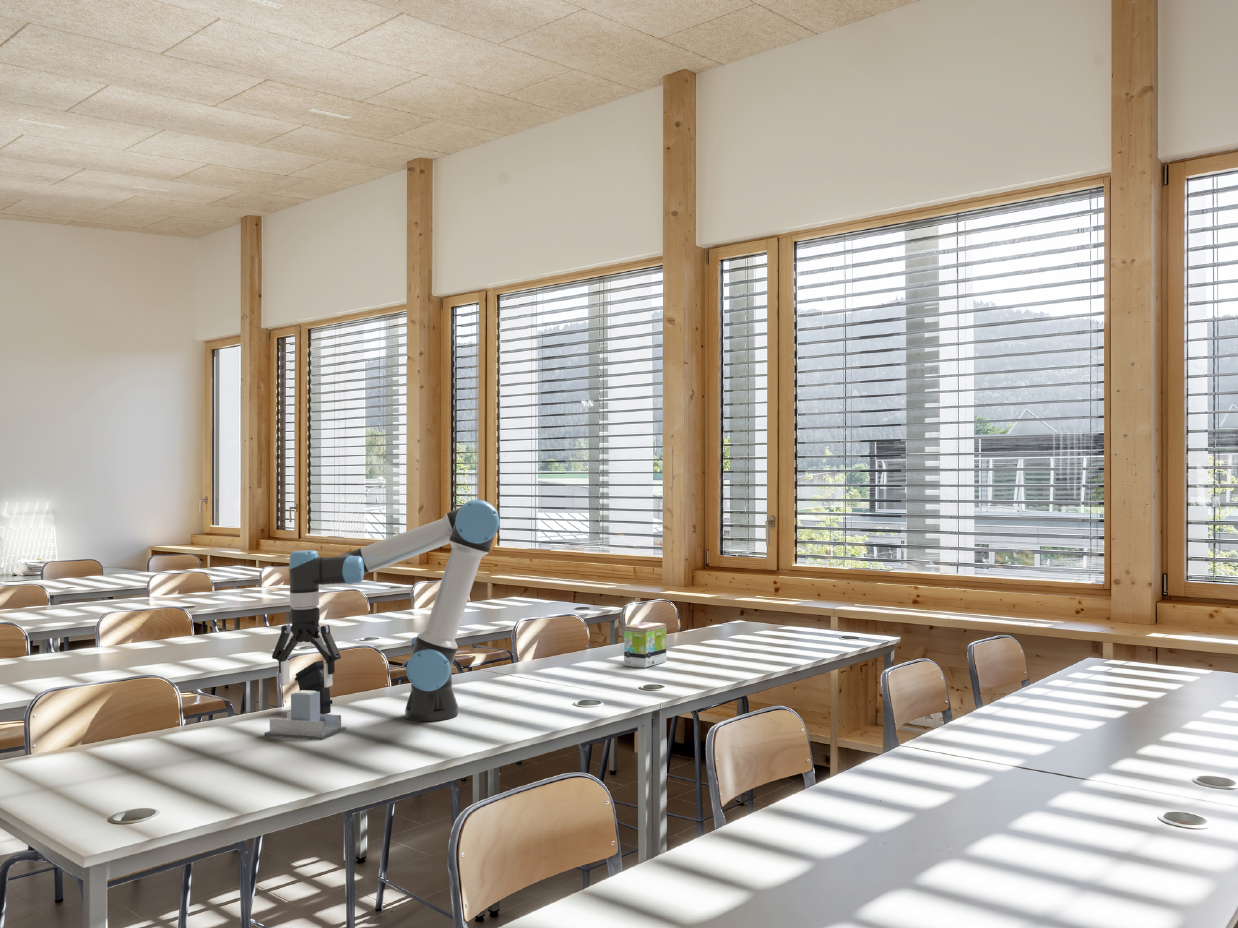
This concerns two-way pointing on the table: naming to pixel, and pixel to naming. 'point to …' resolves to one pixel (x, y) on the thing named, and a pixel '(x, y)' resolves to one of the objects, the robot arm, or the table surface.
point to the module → (305, 705)
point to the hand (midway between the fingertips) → (306, 685)
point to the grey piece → (306, 727)
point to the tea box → (644, 644)
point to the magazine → (315, 684)
